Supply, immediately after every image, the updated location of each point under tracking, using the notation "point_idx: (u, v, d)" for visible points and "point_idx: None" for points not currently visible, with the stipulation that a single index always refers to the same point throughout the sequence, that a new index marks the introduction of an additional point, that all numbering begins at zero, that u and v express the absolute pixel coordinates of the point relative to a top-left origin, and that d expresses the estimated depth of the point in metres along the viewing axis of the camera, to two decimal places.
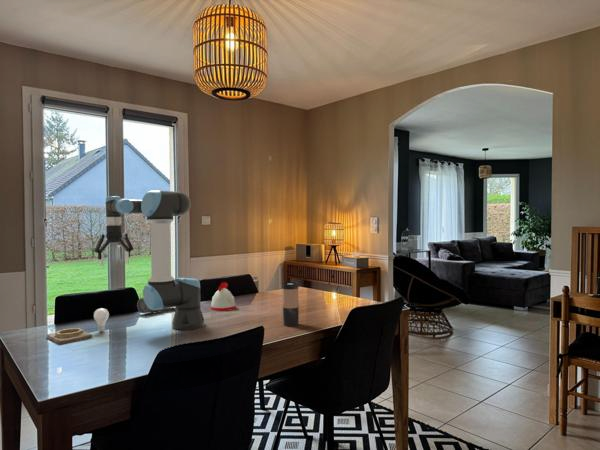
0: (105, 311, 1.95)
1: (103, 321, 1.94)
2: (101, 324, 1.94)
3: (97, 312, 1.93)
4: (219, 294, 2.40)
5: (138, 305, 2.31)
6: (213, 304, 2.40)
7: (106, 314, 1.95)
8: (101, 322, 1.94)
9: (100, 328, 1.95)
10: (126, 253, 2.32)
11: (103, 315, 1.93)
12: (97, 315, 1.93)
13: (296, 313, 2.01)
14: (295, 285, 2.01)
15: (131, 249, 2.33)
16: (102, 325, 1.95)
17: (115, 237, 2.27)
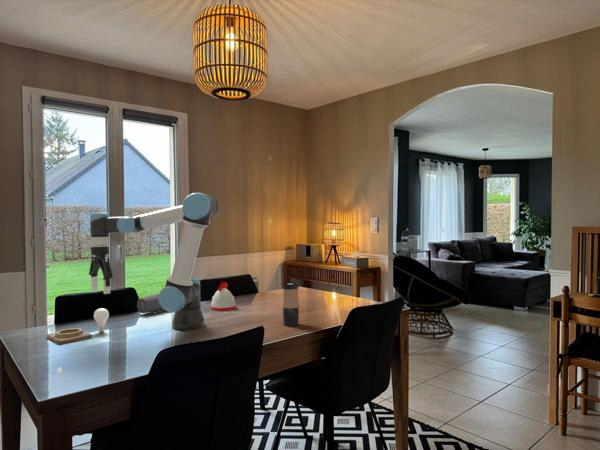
0: (105, 311, 1.95)
1: (103, 321, 1.94)
2: (101, 324, 1.94)
3: (97, 312, 1.93)
4: (219, 294, 2.40)
5: (138, 305, 2.31)
6: (213, 304, 2.40)
7: (106, 314, 1.95)
8: (101, 322, 1.94)
9: (100, 328, 1.95)
10: None
11: (103, 315, 1.93)
12: (97, 315, 1.93)
13: (296, 313, 2.01)
14: (295, 285, 2.01)
15: None
16: (102, 325, 1.95)
17: None
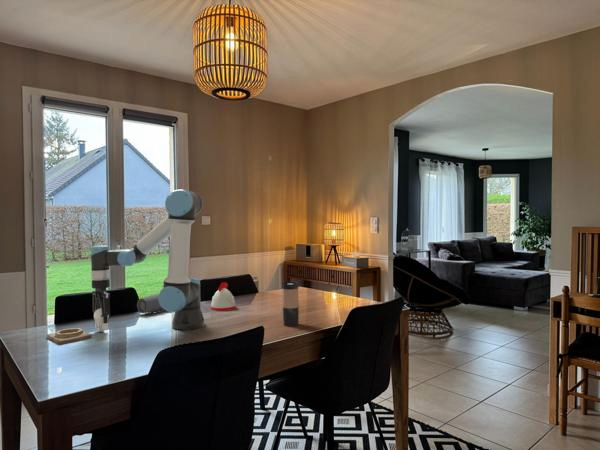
0: None
1: None
2: None
3: (97, 312, 1.93)
4: (219, 294, 2.40)
5: (138, 305, 2.31)
6: (213, 304, 2.40)
7: None
8: None
9: (100, 328, 1.95)
10: None
11: None
12: (97, 315, 1.93)
13: (296, 313, 2.01)
14: (295, 285, 2.01)
15: (104, 314, 1.91)
16: None
17: None
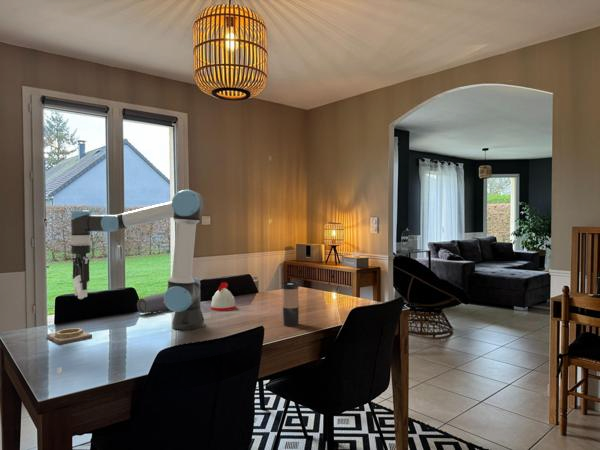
0: None
1: None
2: None
3: (76, 278, 1.88)
4: (219, 294, 2.40)
5: (138, 305, 2.31)
6: (213, 304, 2.40)
7: None
8: None
9: (79, 295, 1.89)
10: None
11: None
12: (76, 281, 1.87)
13: (296, 313, 2.01)
14: (295, 285, 2.01)
15: (83, 280, 1.86)
16: None
17: None
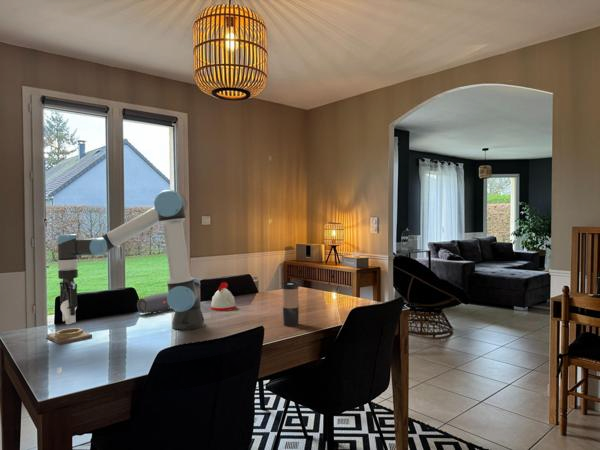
0: None
1: None
2: None
3: (64, 304, 1.84)
4: (219, 294, 2.40)
5: (138, 305, 2.31)
6: (213, 304, 2.40)
7: None
8: None
9: (67, 320, 1.85)
10: None
11: None
12: (64, 306, 1.83)
13: (296, 313, 2.01)
14: (295, 285, 2.01)
15: (71, 305, 1.82)
16: None
17: None
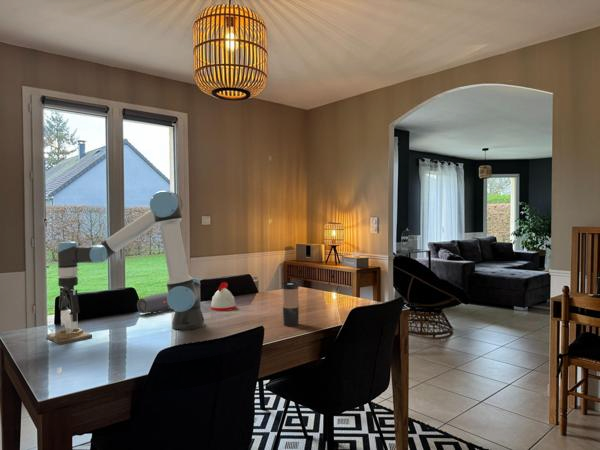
0: None
1: None
2: (68, 326, 1.85)
3: (64, 313, 1.84)
4: (219, 294, 2.40)
5: (138, 305, 2.31)
6: (213, 304, 2.40)
7: None
8: (68, 324, 1.85)
9: (67, 330, 1.85)
10: None
11: None
12: (64, 316, 1.83)
13: (296, 313, 2.01)
14: (295, 285, 2.01)
15: (73, 312, 1.80)
16: None
17: None
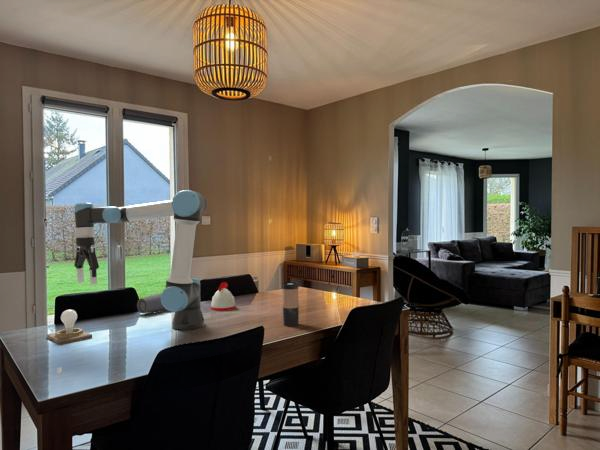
0: (73, 313, 1.85)
1: (71, 323, 1.85)
2: (69, 326, 1.85)
3: (64, 313, 1.84)
4: (219, 294, 2.40)
5: (138, 305, 2.31)
6: (213, 304, 2.40)
7: (74, 316, 1.85)
8: (68, 324, 1.85)
9: (68, 330, 1.85)
10: None
11: (71, 317, 1.84)
12: (64, 316, 1.83)
13: (296, 313, 2.01)
14: (295, 285, 2.01)
15: (92, 267, 1.87)
16: (70, 327, 1.85)
17: None
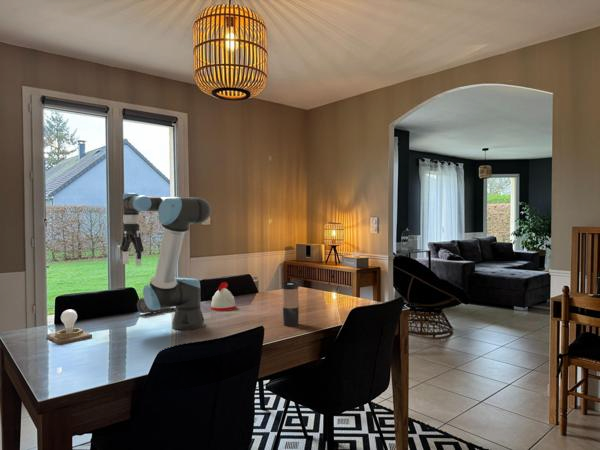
0: (73, 313, 1.85)
1: (71, 323, 1.85)
2: (68, 326, 1.85)
3: (64, 313, 1.84)
4: (219, 294, 2.40)
5: (138, 305, 2.31)
6: (213, 304, 2.40)
7: (74, 316, 1.85)
8: (68, 324, 1.85)
9: (68, 330, 1.85)
10: None
11: (71, 317, 1.84)
12: (64, 316, 1.83)
13: (296, 313, 2.01)
14: (295, 285, 2.01)
15: (138, 250, 2.10)
16: (70, 327, 1.85)
17: None
